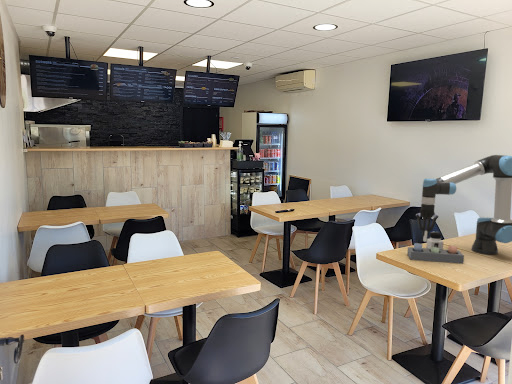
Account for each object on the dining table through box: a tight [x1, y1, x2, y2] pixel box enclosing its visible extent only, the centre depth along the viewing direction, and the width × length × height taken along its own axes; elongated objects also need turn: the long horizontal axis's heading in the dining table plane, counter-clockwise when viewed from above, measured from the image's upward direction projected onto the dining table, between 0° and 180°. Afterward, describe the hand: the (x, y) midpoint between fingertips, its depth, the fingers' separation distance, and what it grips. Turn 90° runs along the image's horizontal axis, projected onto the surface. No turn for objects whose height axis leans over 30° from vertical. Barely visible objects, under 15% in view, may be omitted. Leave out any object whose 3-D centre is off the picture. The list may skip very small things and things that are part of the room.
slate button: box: [413, 242, 423, 252], centre depth 238 cm, size 5×5×5 cm
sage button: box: [431, 247, 439, 253], centre depth 236 cm, size 5×5×5 cm
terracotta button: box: [447, 244, 458, 254], centre depth 234 cm, size 5×5×5 cm
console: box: [407, 246, 465, 265], centre depth 237 cm, size 30×11×5 cm, turn 77°
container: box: [425, 231, 444, 250], centre depth 253 cm, size 8×8×13 cm
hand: (424, 241), depth 237 cm, fingers closed
